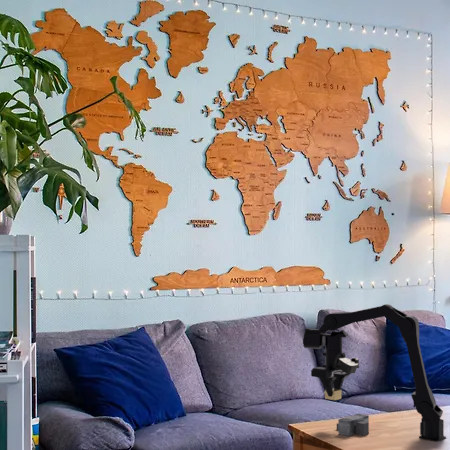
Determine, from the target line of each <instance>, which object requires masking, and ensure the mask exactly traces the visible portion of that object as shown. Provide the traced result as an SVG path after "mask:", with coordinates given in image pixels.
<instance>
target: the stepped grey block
mask: <svg viewBox="0 0 450 450" xmlns="http://www.w3.org/2000/svg"><path fill="white" fill-rule="evenodd" d="M369 424H370V423H369V422H364V421H359V422H356V426H355V425H354V434H356V435H358V436H359V435H360V436H367V435H369V432H370V431H369V430H370V427H369V426H370V425H369ZM336 430H337V431H338V423H336Z"/></svg>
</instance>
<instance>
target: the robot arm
mask: <svg viewBox="0 0 450 450" xmlns="http://www.w3.org/2000/svg"><path fill="white" fill-rule="evenodd" d="M379 318H386V319H387V320H388V321H390V323H391V324H394V325H395V326H397V327H398V330H399V333H400V335H401V337H402V339H403V341H404V343H405V346H406V348H407V352H408V359H409V362H410V367H411V371H412V372H411V373H412V377H413V380H414V382H413V383H414V386H415V391H413V392H412V393H411V399H412V401H413V408H415V411H416V413H418V414H420V415H421V419H420V420H421V421H420V423H419V429H420V430H419V431H420V432H419V435H418V438H419V439H422V440H427V441H428V440H429V441H433V442H439V441H441V440H445V439H446V438H447V436H445V435H444V433H445V432H444V429H445V427H444V419H442V418H441V417H442V416H443V412H444V410H442V409H441V407H440V406H439V405H438V404H437V401H436V399H435V396H434V393H433V391H432V390H431V387H430V386H429V383H428V378H427V373H426V368H425V363H424V360H423V355H422V350H421V345H420V322H419V319H418V318H417V317H416V316H414V315H409V314H406V313H404V312H402V311H401V310H399V309H397V308H395V307H394V306H392V305H391V304H390V303H386V304H382V305H380V306H375V307H371V308H364V309H361V310H356V311H349V312H348V311H347V312H345V311H340V312H339V311H337V312H336V311H335V312H331V313H328V314H326V315H325V317H324V318H323V324H322V325H321V326H320V327H319V328H316V329H314V328H304V333H303V338H302V344H303V345H302V346H303V348H304V349H315V350H316V349H318V350H321V349H322V348H323V347H325V351H324V352H322V356H324V357H325V358H324V359H325V362H324V364H322V367H321V366H318V367H312V369H311V370H310V373H311V374H310V376H311V377H314V378H318V379H319V380H320V382H321V383H322V385H323V388H324V389H325V390H326V392H327V394H328V396H330V397H331V396H332V390H333V389H339V390H341V391H342V387H343V384H344V381H345V379H346V378H347V377H349V376H350V375H352V374H356V372H357V370H358V369H359V368H360V361H359V358H357V357H352V358H348V357H346V353H345V352H343V338H347V337H349V334H348V333H347V332H346V331H345V330H344V329H342V328H343V327H346V326H348V325H351V324H353V323H354V324H355V323H359V322H364V321H369V320H374V319H379ZM339 329H341V330H340V331H335V330H339ZM327 332H331V333H327ZM325 390H324V391H325Z"/></svg>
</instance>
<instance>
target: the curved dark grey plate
mask: <svg viewBox="0 0 450 450" xmlns="http://www.w3.org/2000/svg"><path fill="white" fill-rule="evenodd" d="M369 416H370V415H369V414H368V415H367V414H362V413H356V414H353V415H349V416H346V417H343V418H338V419H337V420H338V430H337V431H338V432H337V433H338V435H341V436H346V437H351V436H354V435H355V433H354V425H355V426H356V422H359V421H364V422H369V419H370V418H369Z"/></svg>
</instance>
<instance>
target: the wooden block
mask: <svg viewBox="0 0 450 450" xmlns="http://www.w3.org/2000/svg"><path fill="white" fill-rule="evenodd" d="M323 394H324V398H325V400H331V401H339V400H341V399H342V389H341V390H339V389H334V388H333V390H332V396H331V397H330V396H328V394H327V392H326V390H324V391H323Z"/></svg>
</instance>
